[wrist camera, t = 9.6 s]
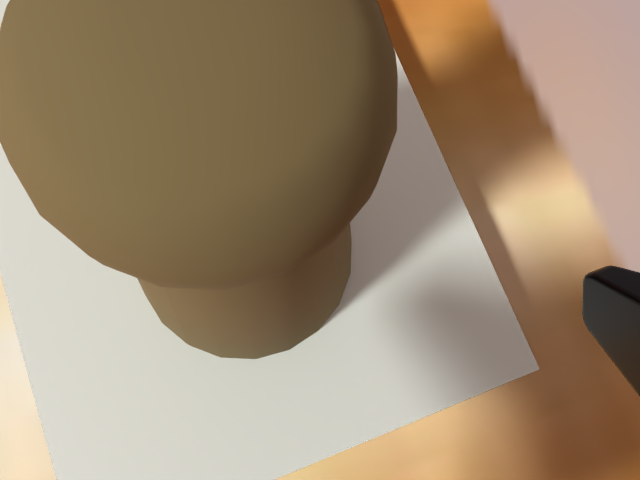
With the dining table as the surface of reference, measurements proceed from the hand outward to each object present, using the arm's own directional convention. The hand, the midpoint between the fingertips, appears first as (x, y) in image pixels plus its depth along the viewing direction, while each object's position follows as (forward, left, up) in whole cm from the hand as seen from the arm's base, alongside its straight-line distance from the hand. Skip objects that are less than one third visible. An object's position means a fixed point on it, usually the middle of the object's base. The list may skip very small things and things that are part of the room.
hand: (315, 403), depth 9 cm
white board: (+5, +5, -9) cm, 11 cm away
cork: (+3, +3, -8) cm, 9 cm away
